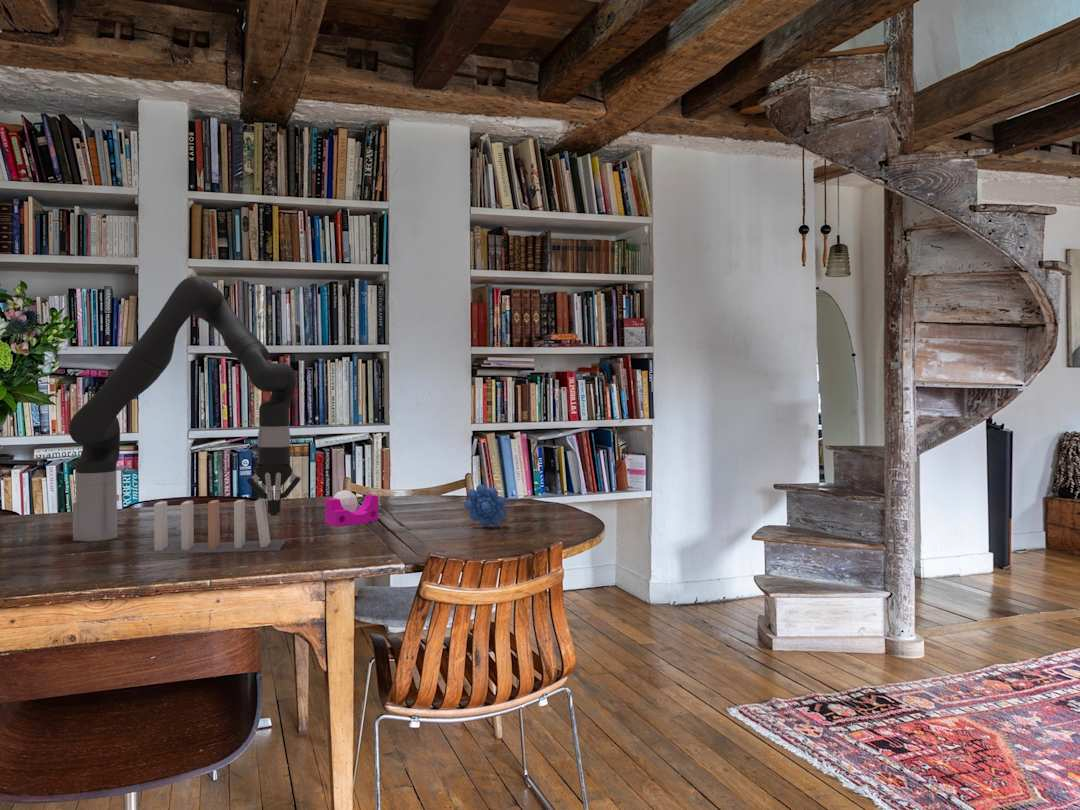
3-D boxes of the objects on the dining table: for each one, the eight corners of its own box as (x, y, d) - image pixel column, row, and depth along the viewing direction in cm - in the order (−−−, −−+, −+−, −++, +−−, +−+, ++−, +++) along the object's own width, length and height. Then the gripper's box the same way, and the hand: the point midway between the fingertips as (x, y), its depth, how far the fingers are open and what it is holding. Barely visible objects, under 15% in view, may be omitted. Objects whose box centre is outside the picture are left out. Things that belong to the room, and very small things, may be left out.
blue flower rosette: (465, 530, 224) (465, 486, 223) (464, 526, 230) (464, 483, 230) (507, 529, 225) (507, 485, 225) (505, 525, 232) (505, 483, 231)
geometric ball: (345, 519, 242) (345, 492, 242) (325, 517, 246) (325, 490, 246) (363, 515, 249) (363, 489, 249) (343, 513, 253) (343, 487, 253)
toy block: (335, 528, 229) (335, 501, 228) (325, 525, 233) (325, 498, 233) (382, 522, 238) (382, 496, 238) (371, 519, 243) (371, 494, 243)
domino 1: (154, 550, 194) (154, 504, 194) (160, 546, 199) (160, 501, 198) (161, 550, 194) (161, 504, 194) (167, 546, 199) (167, 501, 199)
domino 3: (208, 548, 196) (207, 503, 196) (212, 544, 201) (212, 500, 201) (215, 548, 196) (214, 502, 196) (219, 544, 201) (219, 500, 201)
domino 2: (181, 549, 195) (180, 503, 195) (186, 545, 200) (186, 500, 200) (188, 549, 195) (188, 503, 195) (193, 545, 200) (193, 500, 200)
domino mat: (135, 555, 190) (135, 554, 190) (150, 545, 202) (150, 544, 202) (279, 551, 195) (279, 549, 195) (285, 541, 207) (285, 540, 207)
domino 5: (260, 547, 198) (254, 502, 197) (263, 543, 203) (257, 499, 202) (267, 546, 198) (261, 501, 198) (270, 542, 203) (264, 498, 203)
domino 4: (234, 548, 197) (234, 502, 197) (238, 544, 202) (238, 499, 202) (241, 548, 197) (241, 502, 197) (245, 544, 202) (244, 499, 202)
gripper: (303, 443, 205) (303, 512, 206) (248, 443, 203) (248, 513, 203) (300, 445, 198) (300, 517, 198) (243, 445, 195) (243, 518, 196)
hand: (274, 515), depth 201 cm, fingers closed
